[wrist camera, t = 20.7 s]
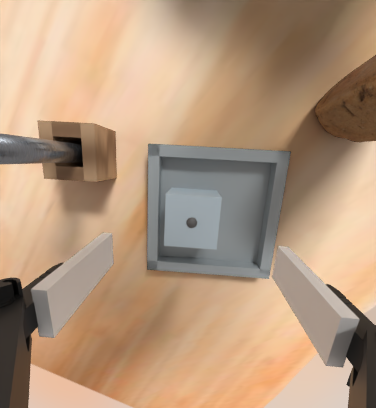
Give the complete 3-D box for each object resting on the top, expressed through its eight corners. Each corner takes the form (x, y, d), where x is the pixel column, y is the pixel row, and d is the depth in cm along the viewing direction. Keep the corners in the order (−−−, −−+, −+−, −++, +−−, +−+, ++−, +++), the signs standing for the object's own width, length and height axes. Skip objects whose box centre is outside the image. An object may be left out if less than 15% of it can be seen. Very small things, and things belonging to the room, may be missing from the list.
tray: (152, 145, 28) (148, 143, 26) (282, 152, 28) (290, 151, 25) (150, 261, 33) (147, 269, 30) (263, 269, 32) (268, 278, 30)
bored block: (70, 129, 28) (37, 120, 23) (115, 131, 28) (94, 123, 22) (73, 175, 30) (44, 178, 24) (116, 177, 30) (97, 181, 24)
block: (171, 187, 29) (165, 194, 23) (216, 190, 29) (222, 197, 23) (170, 229, 31) (163, 246, 25) (212, 232, 30) (216, 250, 25)
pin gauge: (87, 145, 29) (-42, 129, 13) (102, 146, 29) (-10, 130, 13) (88, 161, 29) (-34, 163, 14) (103, 162, 29) (-3, 165, 14)
